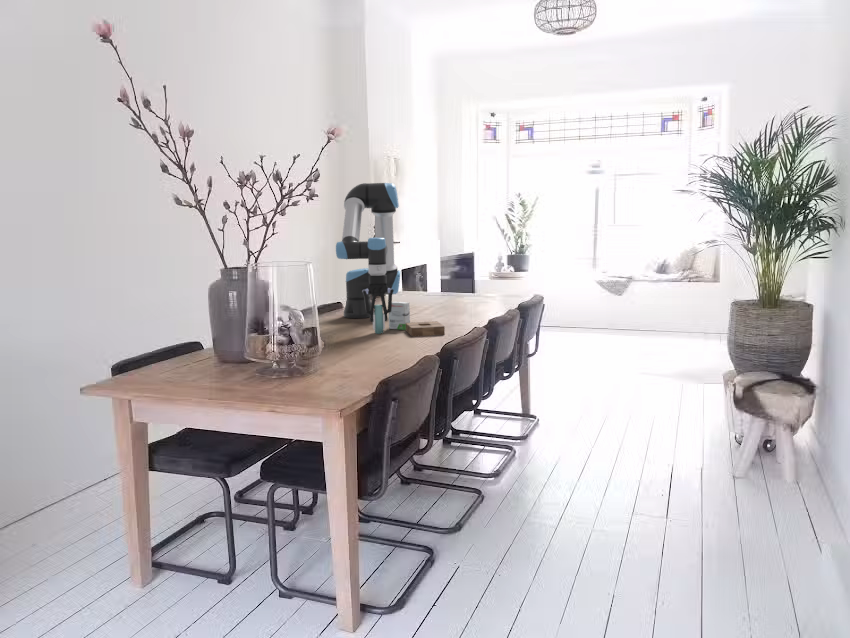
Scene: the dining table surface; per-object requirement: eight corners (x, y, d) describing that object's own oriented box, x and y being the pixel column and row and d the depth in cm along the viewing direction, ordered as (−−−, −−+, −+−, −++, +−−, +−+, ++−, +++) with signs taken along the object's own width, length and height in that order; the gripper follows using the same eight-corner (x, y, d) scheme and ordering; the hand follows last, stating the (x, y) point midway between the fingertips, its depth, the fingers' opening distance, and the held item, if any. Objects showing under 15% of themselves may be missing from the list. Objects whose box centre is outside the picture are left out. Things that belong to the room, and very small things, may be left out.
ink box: (410, 328, 312) (410, 302, 310) (405, 330, 308) (404, 303, 306) (394, 327, 317) (393, 300, 315) (388, 328, 312) (387, 302, 310)
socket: (405, 330, 307) (405, 322, 306) (437, 329, 309) (437, 321, 309) (411, 336, 293) (411, 328, 292) (444, 334, 296) (444, 326, 295)
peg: (374, 332, 304) (373, 304, 302) (382, 332, 304) (381, 304, 302) (375, 333, 300) (374, 306, 298) (383, 333, 301) (383, 305, 299)
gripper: (359, 275, 293) (360, 331, 297) (398, 274, 296) (399, 329, 300) (357, 274, 300) (358, 328, 304) (395, 272, 303) (396, 326, 307)
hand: (378, 328), depth 302 cm, fingers closed on peg, 3 cm apart
